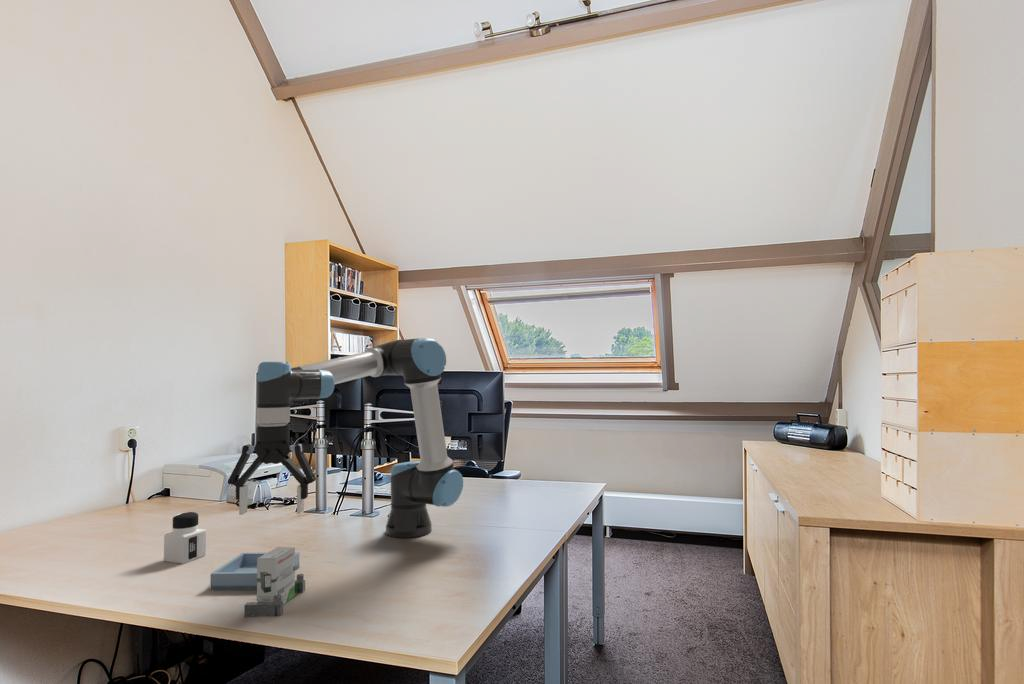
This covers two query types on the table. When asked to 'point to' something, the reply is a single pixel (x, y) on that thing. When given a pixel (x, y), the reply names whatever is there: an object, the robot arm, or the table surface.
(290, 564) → the ink box
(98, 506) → the table surface
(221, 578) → the bin
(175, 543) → the container
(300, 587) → the cradle
